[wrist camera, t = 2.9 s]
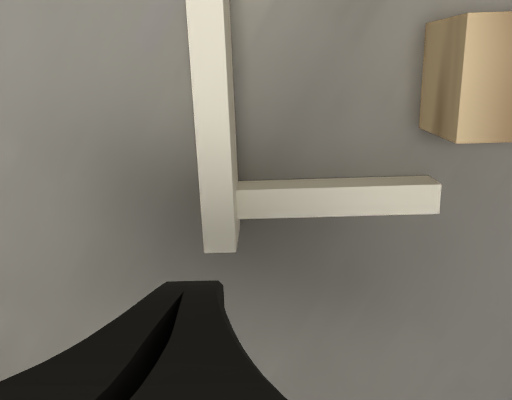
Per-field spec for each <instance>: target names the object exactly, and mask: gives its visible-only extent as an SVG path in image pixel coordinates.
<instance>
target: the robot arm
mask: <svg viewBox="0 0 512 400" xmlns="http://www.w3.org/2000/svg"><path fill="white" fill-rule="evenodd" d="M0 400H287V399H286V398H285V397H284V396H283V395H282V394H281V393H280V392H279V391H278V390H277V389H276V388H275V387H274V386H273V385H272V384H271V383H270V382H269V381H268V380H267V379H266V378H265V377H264V376H263V375H262V373H261V372H260V371H259V370H258V368H257V367H256V366H255V365H254V363H253V362H252V360H251V359H250V358H249V356H248V355H247V353H246V352H245V350H244V349H243V347H242V345H241V344H240V342H239V340H238V338H237V336H236V334H235V333H234V331H233V328H232V326H231V324H230V322H229V319H228V317H227V314H226V311H225V308H224V292H223V285H222V284H221V283H220V282H219V281H177V282H166V283H164V284H162V285H161V286H160V287H158V288H157V289H155V290H154V291H153V292H151V293H150V294H149V295H147V296H146V297H145V298H143V299H142V300H141V301H139V302H138V303H137V304H135V305H134V306H133V307H131V308H130V309H129V310H127V311H126V312H125V313H123V314H122V315H121V316H119V317H118V318H116V319H115V320H113V321H112V322H110V323H109V324H107V325H106V326H104V327H103V328H101V329H100V330H98V331H97V332H95V333H94V334H92V335H91V336H89V337H88V338H86V339H84V340H83V341H81V342H79V343H78V344H76V345H74V346H73V347H71V348H69V349H67V350H65V351H64V352H62V353H60V354H58V355H56V356H54V357H52V358H50V359H49V360H47V361H45V362H43V363H41V364H39V365H36V366H34V367H32V368H30V369H27V370H25V371H23V372H21V373H18V374H16V375H14V376H12V377H9V378H7V379H5V380H3V381H0Z"/></svg>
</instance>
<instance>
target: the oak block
mask: <svg viewBox="0 0 512 400" xmlns="http://www.w3.org/2000/svg"><path fill="white" fill-rule="evenodd" d="M419 128H421V129H423V130H426V131H428V132H430V133H433V134H435V135H437V136H440V137H442V138H444V139H446V140H449V141H451V142H453V143H456V144H462V143H498V142H512V11H508V12H480V13H466V14H462V15H458V16H453V17H449V18H445V19H441V20H437V21H433V22H429V23H426V30H425V45H424V60H423V75H422V90H421V105H420V120H419Z"/></svg>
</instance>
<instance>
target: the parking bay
mask: <svg viewBox="0 0 512 400" xmlns="http://www.w3.org/2000/svg"><path fill="white" fill-rule="evenodd" d="M186 11H187V25H188V39H189V52H190V66H191V80H192V94H193V107H194V121H195V135H196V149H197V162H198V176H199V190H200V204H201V217H202V231H203V245H204V253H230V252H236V249H237V243H238V237H239V231H240V219H266V218H303V217H339V216H376V215H413V214H439V210H440V198H441V185H442V184H440V183H439V182H437V181H436V180H434V179H433V178H432V177H430V176H429V175H428V176H394V177H360V178H327V179H293V180H259V181H238V167H237V146H236V125H235V104H234V84H233V63H232V42H231V21H230V1H229V0H186Z"/></svg>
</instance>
